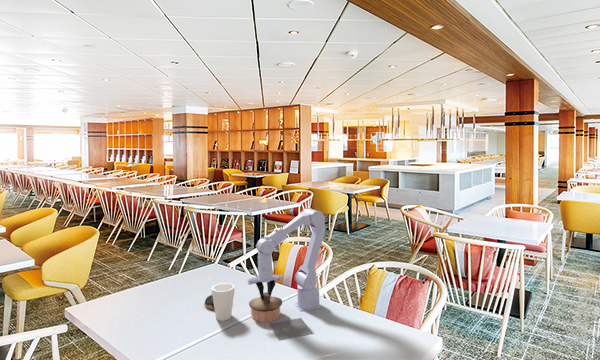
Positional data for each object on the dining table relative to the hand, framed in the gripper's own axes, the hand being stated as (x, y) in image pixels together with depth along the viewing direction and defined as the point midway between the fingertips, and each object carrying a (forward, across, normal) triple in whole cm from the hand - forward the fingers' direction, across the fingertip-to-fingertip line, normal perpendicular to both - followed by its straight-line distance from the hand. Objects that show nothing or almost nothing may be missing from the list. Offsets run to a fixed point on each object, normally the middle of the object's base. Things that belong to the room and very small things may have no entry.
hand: (265, 298), depth 158 cm
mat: (+8, +6, -15) cm, 18 cm away
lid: (+2, 0, 0) cm, 2 cm away
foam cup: (+8, -17, +5) cm, 19 cm away
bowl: (+8, 0, 0) cm, 8 cm away
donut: (+8, -18, +18) cm, 27 cm away
